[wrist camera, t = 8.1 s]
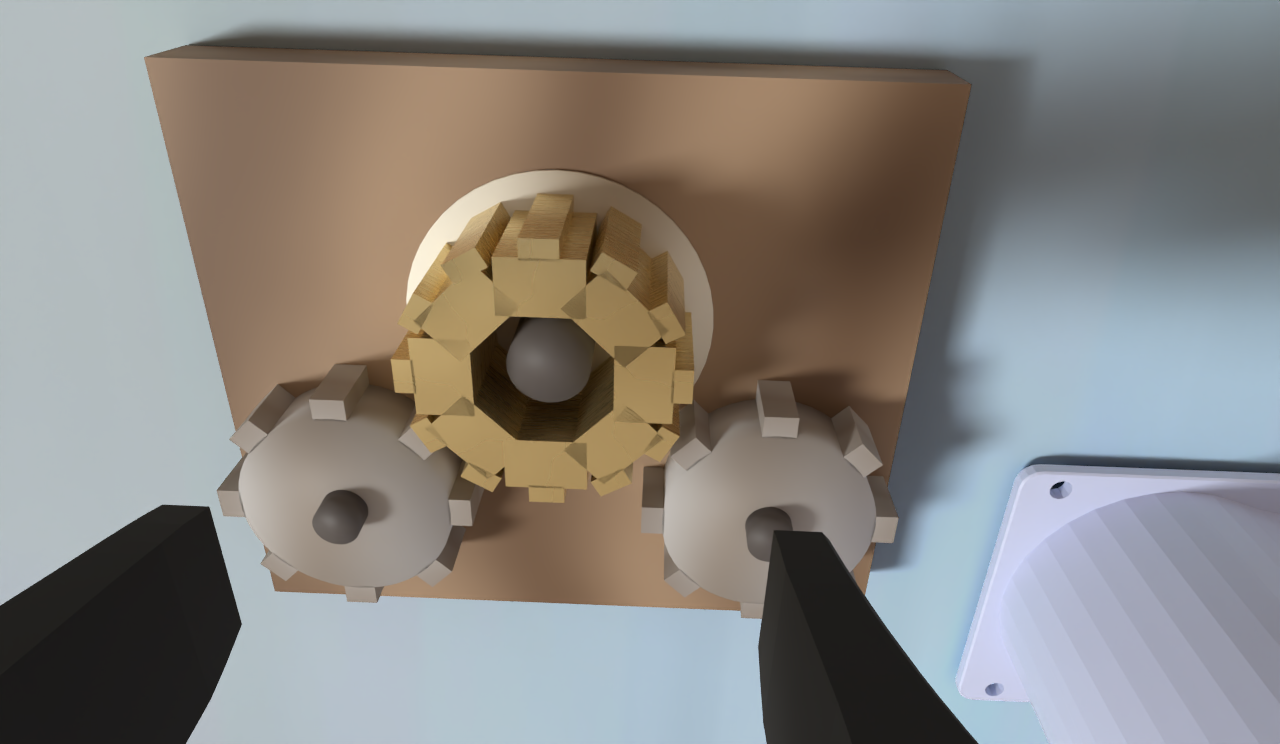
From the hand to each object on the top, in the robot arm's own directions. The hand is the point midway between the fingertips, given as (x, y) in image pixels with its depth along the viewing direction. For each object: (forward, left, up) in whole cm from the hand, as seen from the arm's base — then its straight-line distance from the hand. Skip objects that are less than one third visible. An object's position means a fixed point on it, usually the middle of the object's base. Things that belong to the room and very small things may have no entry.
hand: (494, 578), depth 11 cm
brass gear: (0, 0, -8) cm, 8 cm away
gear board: (0, +1, -9) cm, 9 cm away
